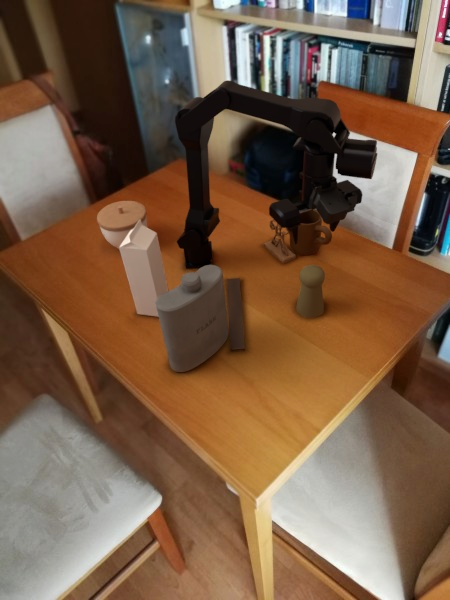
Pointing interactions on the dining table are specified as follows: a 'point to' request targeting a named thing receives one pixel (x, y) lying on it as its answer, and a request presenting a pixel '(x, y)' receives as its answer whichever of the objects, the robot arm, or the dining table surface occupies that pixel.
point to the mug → (310, 233)
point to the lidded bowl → (120, 220)
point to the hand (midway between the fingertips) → (313, 237)
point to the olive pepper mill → (311, 292)
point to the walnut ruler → (235, 315)
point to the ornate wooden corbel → (279, 245)
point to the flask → (194, 318)
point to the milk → (144, 268)
